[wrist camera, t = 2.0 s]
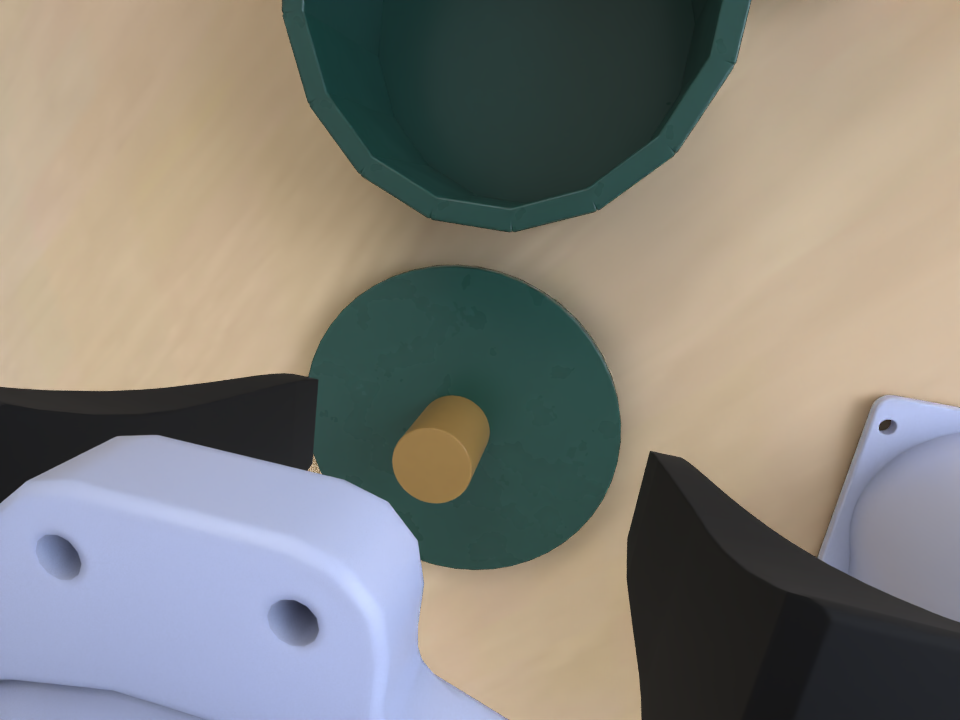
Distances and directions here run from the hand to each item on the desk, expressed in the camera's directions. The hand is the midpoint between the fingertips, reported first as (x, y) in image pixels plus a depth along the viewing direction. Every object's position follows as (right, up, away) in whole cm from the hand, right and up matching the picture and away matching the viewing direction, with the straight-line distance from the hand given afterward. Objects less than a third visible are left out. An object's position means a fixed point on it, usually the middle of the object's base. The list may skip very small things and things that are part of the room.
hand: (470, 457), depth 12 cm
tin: (+2, +12, +6) cm, 14 cm away
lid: (-1, 0, +10) cm, 10 cm away
